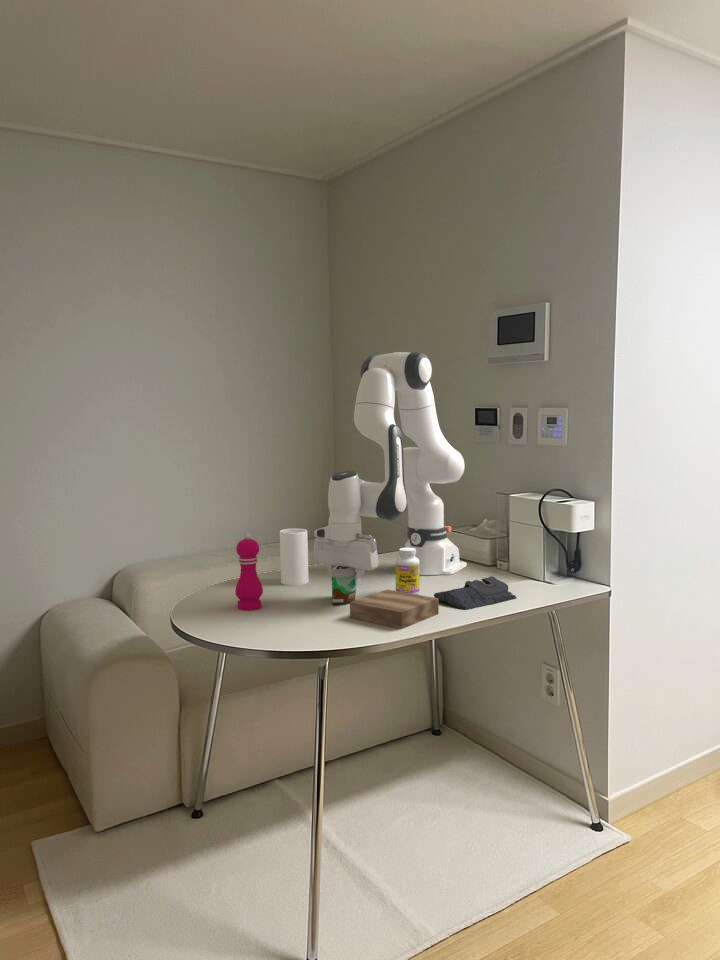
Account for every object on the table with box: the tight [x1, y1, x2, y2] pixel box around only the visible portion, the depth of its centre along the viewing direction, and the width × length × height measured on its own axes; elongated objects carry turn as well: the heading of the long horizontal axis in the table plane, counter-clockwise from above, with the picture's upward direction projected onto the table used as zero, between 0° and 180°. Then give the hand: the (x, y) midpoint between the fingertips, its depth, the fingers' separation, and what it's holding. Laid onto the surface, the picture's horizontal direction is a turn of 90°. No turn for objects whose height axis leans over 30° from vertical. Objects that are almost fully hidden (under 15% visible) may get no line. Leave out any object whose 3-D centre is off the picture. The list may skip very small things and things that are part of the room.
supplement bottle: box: [395, 547, 420, 595], centre depth 216 cm, size 7×7×13 cm
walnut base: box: [349, 589, 440, 630], centre depth 195 cm, size 16×16×4 cm
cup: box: [279, 527, 309, 586], centre depth 231 cm, size 8×8×16 cm
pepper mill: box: [234, 532, 264, 611], centre depth 204 cm, size 7×7×20 cm
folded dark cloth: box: [433, 575, 518, 611], centre depth 211 cm, size 15×22×5 cm
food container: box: [330, 566, 357, 606], centre depth 209 cm, size 12×6×10 cm, turn 166°
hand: (345, 582), depth 210 cm, fingers open, 6 cm apart
